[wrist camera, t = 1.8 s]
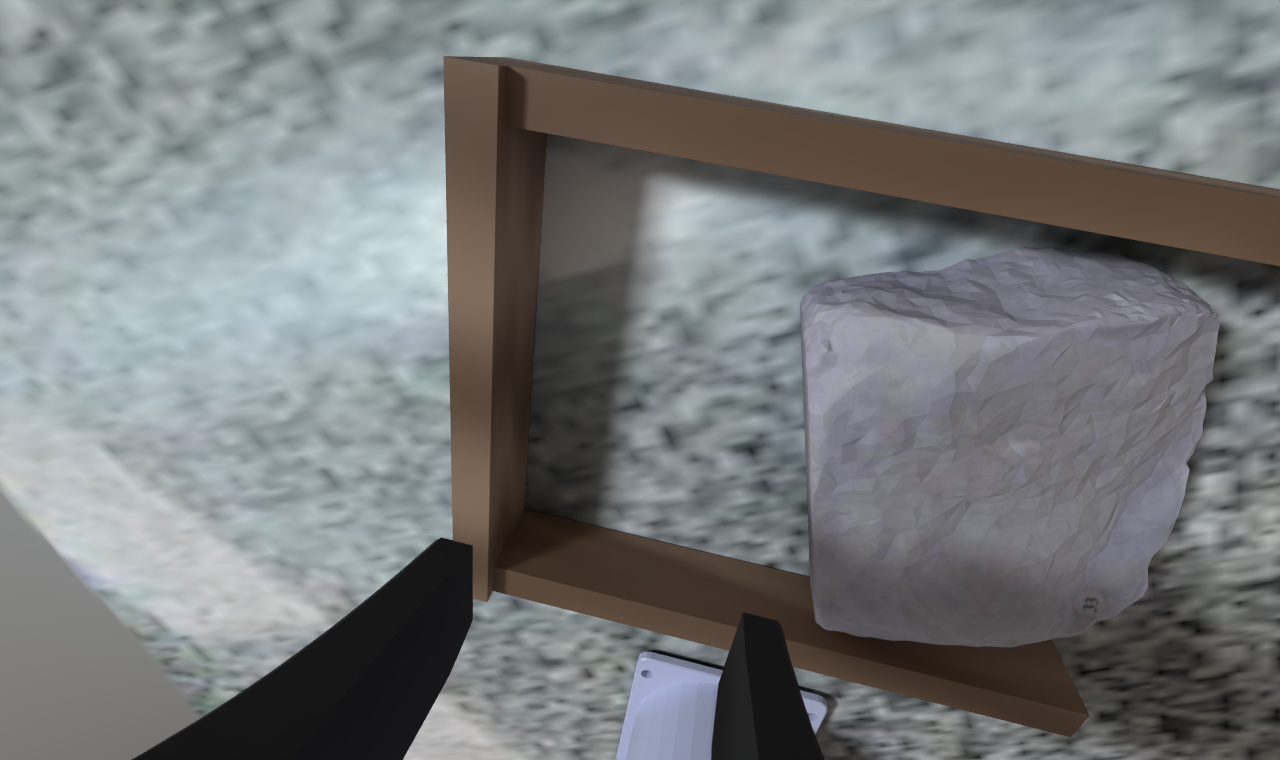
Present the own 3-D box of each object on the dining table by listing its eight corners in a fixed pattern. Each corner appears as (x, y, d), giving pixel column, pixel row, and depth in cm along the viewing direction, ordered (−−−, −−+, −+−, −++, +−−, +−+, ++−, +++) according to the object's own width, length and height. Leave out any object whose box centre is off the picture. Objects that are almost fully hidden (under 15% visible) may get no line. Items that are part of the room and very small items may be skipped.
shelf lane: (1033, 655, 22) (1077, 753, 19) (493, 524, 23) (453, 593, 20) (1369, 205, 14) (1546, 246, 10) (506, 57, 15) (443, 56, 12)
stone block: (1129, 209, 16) (765, 275, 17) (1309, 260, 12) (813, 346, 13) (1061, 531, 22) (790, 572, 22) (1167, 645, 18) (829, 691, 18)
